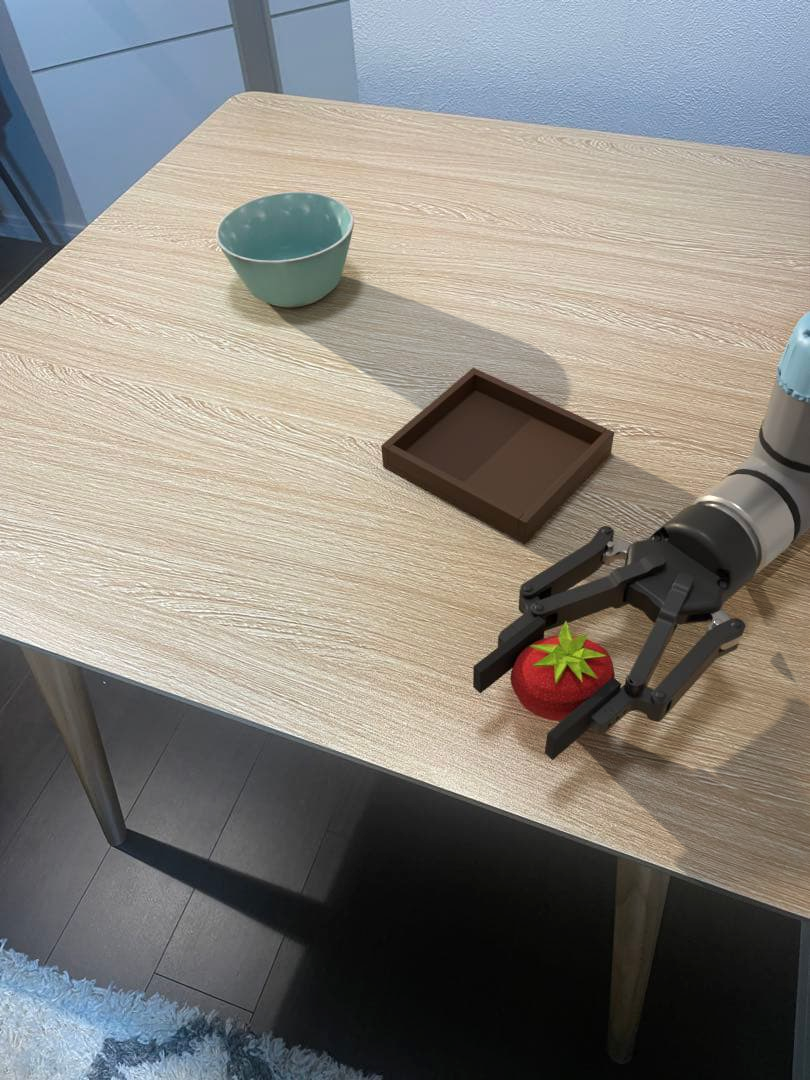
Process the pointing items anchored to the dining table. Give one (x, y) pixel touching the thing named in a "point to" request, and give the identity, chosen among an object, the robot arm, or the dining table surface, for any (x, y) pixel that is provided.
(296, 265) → the bowl
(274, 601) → the dining table surface
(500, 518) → the tray
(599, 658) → the strawberry
